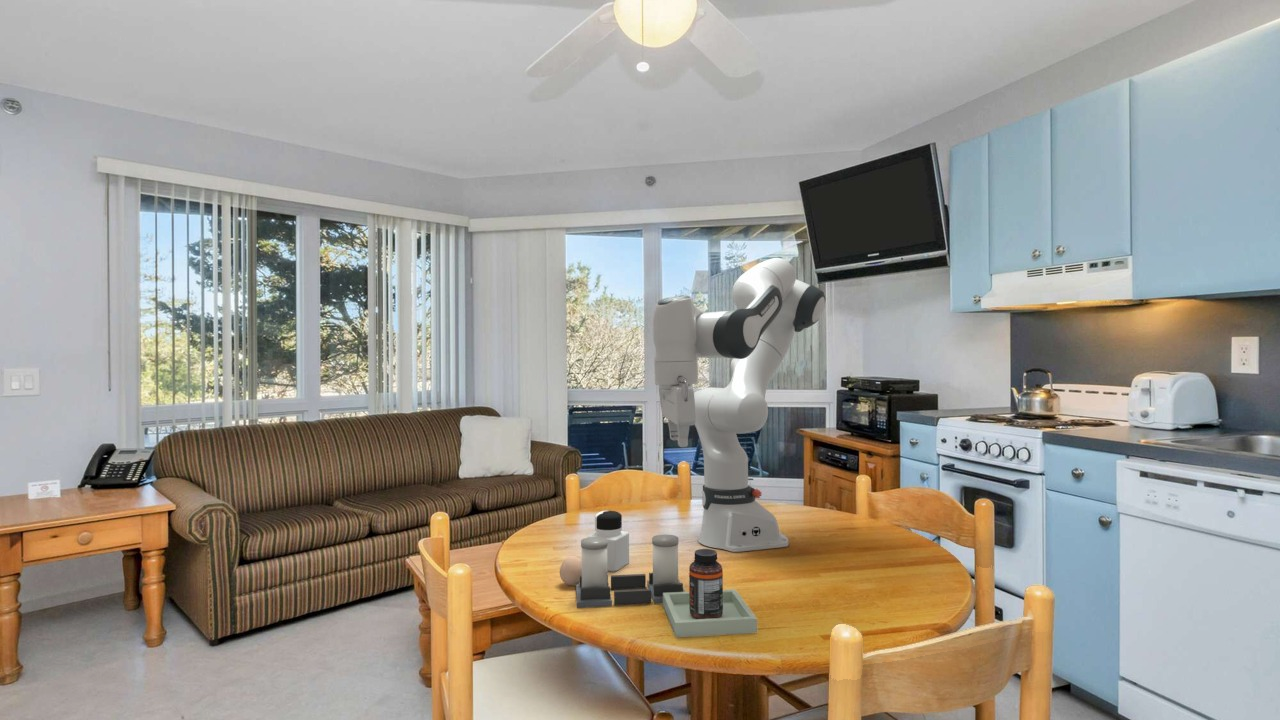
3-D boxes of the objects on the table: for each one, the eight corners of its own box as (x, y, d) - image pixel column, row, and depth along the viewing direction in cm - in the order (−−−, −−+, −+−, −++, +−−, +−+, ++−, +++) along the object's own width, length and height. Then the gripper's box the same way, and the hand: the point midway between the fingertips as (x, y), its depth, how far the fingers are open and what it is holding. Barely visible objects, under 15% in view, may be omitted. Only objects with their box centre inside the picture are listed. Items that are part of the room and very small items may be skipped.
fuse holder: (678, 584, 132) (678, 530, 132) (687, 602, 122) (687, 544, 122) (576, 588, 129) (575, 534, 129) (577, 607, 120) (576, 548, 120)
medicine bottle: (629, 563, 146) (629, 510, 146) (615, 572, 139) (615, 517, 140) (602, 559, 149) (601, 507, 149) (586, 568, 142) (586, 514, 143)
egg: (556, 582, 133) (556, 554, 133) (580, 579, 135) (580, 551, 135) (563, 590, 129) (563, 561, 129) (587, 587, 131) (587, 558, 131)
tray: (735, 601, 122) (735, 589, 122) (757, 632, 108) (757, 618, 108) (662, 605, 120) (662, 592, 120) (675, 637, 106) (675, 622, 106)
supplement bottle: (687, 609, 117) (686, 547, 117) (719, 607, 117) (719, 546, 118) (692, 622, 111) (691, 557, 111) (726, 621, 112) (725, 556, 112)
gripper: (702, 377, 121) (704, 450, 121) (682, 373, 141) (684, 435, 141) (669, 378, 120) (671, 452, 120) (654, 374, 140) (656, 437, 140)
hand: (678, 443), depth 131 cm, fingers open, 8 cm apart
